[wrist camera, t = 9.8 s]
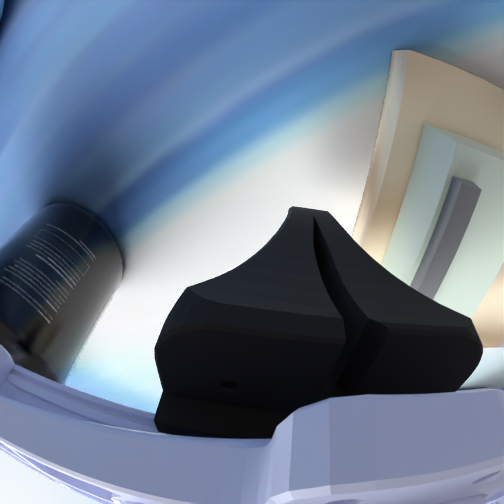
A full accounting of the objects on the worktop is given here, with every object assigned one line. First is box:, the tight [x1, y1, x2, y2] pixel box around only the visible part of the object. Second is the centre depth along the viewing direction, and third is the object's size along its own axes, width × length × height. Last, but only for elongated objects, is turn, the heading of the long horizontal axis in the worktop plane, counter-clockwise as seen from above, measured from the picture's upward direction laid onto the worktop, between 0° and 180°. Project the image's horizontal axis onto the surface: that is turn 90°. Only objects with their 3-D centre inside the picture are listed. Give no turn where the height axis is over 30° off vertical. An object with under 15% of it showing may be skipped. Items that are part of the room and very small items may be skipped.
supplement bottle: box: [0, 203, 123, 385], centre depth 12 cm, size 7×7×12 cm
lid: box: [381, 123, 504, 318], centre depth 10 cm, size 9×4×3 cm, turn 175°
